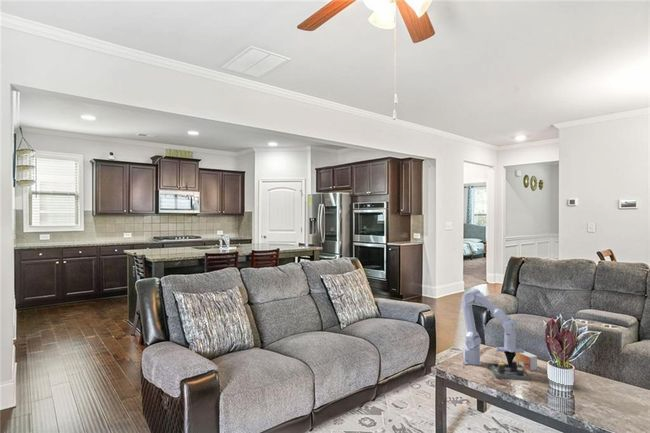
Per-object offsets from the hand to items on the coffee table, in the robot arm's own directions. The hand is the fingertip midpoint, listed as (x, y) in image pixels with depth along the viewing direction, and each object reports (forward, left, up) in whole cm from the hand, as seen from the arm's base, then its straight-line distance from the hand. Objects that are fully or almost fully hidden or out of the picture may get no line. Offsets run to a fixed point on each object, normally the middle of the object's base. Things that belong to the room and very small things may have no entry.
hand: (509, 364), depth 212 cm
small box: (+9, +15, -1) cm, 18 cm away
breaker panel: (0, 0, -5) cm, 5 cm away
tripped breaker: (-4, 0, -3) cm, 6 cm away
